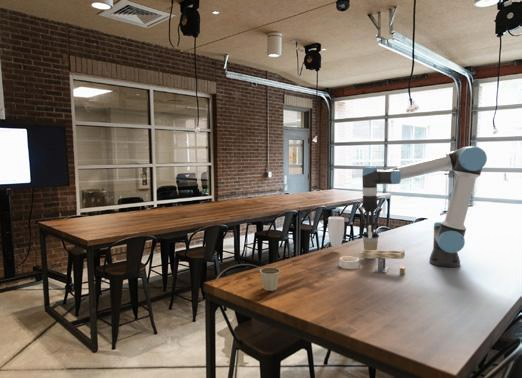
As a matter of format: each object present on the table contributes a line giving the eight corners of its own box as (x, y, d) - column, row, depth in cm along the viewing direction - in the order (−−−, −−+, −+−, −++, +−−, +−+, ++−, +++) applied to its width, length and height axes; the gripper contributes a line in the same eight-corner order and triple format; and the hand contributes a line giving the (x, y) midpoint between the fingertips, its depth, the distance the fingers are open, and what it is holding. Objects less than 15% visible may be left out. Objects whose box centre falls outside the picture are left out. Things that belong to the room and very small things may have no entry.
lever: (406, 252, 194) (405, 246, 193) (403, 258, 182) (402, 252, 182) (364, 251, 204) (364, 246, 204) (359, 257, 192) (358, 251, 192)
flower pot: (274, 294, 160) (273, 275, 159) (256, 290, 165) (255, 271, 164) (284, 287, 168) (284, 269, 167) (266, 283, 173) (266, 266, 172)
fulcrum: (405, 270, 190) (406, 256, 189) (403, 276, 180) (403, 261, 180) (377, 266, 197) (377, 253, 196) (373, 272, 187) (373, 258, 186)
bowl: (360, 264, 201) (360, 257, 200) (356, 269, 192) (356, 262, 191) (342, 262, 205) (342, 255, 205) (337, 267, 196) (337, 260, 196)
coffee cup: (379, 260, 208) (379, 234, 207) (362, 259, 210) (362, 234, 209) (377, 255, 217) (378, 231, 216) (361, 255, 219) (361, 230, 218)
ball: (343, 257, 201) (344, 264, 201) (341, 259, 198) (343, 265, 198) (349, 257, 200) (350, 263, 200) (347, 258, 197) (349, 265, 197)
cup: (326, 253, 225) (326, 218, 224) (329, 248, 235) (329, 216, 233) (342, 254, 222) (343, 219, 220) (345, 250, 231) (345, 216, 229)
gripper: (383, 194, 198) (383, 237, 200) (359, 194, 204) (359, 235, 206) (381, 196, 191) (381, 240, 193) (356, 195, 197) (356, 238, 199)
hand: (370, 237), depth 199 cm, fingers closed
